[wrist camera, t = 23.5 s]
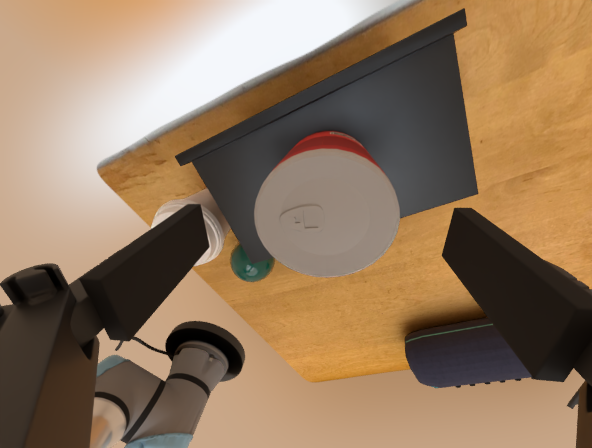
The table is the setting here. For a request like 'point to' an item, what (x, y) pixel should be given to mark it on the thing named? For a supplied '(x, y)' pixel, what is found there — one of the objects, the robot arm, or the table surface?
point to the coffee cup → (212, 218)
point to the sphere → (249, 266)
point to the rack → (357, 130)
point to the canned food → (327, 207)
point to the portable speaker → (462, 355)
